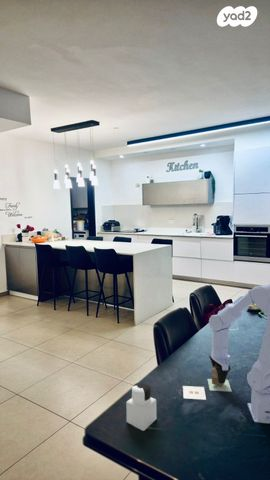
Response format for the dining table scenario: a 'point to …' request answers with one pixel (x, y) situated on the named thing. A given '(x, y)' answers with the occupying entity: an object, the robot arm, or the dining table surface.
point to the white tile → (194, 392)
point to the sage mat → (219, 388)
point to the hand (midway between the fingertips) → (219, 378)
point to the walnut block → (215, 377)
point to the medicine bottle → (141, 407)
